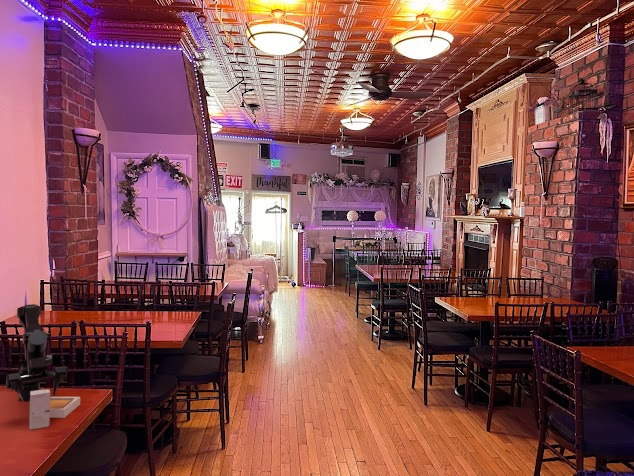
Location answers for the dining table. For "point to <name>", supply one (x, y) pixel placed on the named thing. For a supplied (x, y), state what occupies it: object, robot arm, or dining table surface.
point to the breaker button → (59, 403)
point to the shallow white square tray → (67, 409)
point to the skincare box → (39, 408)
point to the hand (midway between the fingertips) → (39, 398)
